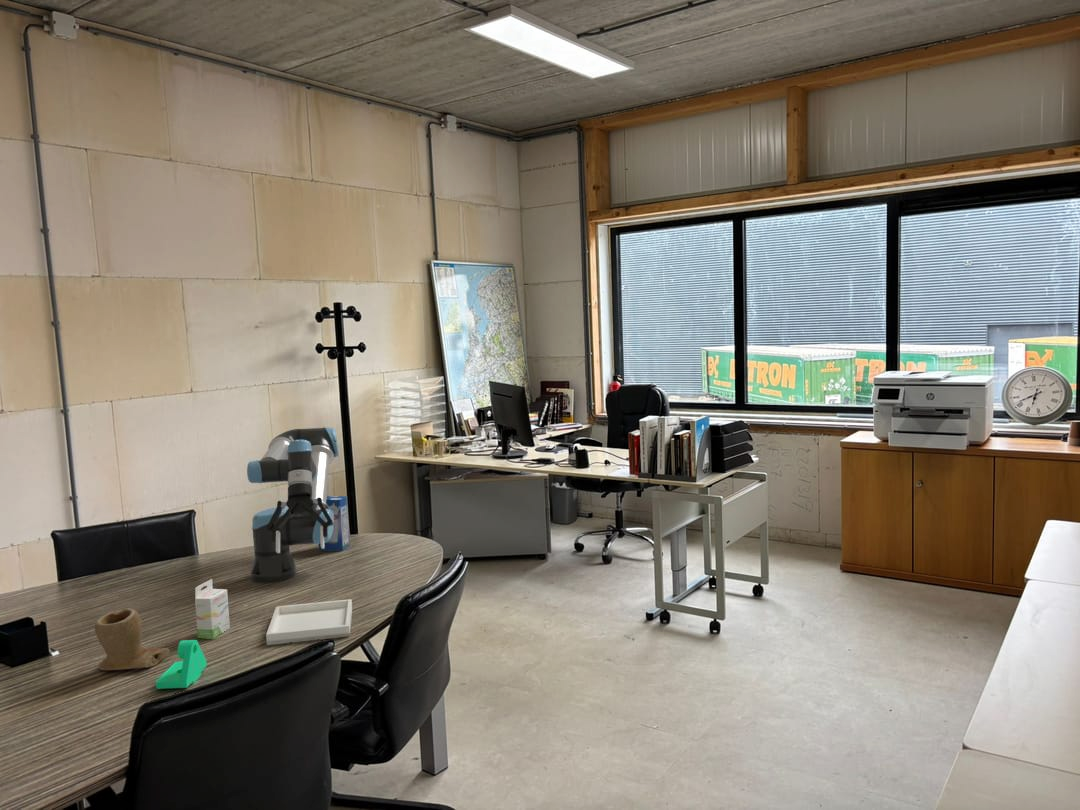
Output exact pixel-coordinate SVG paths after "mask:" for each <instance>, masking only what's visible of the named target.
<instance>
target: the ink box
mask: <svg viewBox="0 0 1080 810" xmlns="http://www.w3.org/2000/svg"><path fill="white" fill-rule="evenodd" d="M204 587H205V588H204ZM194 590H195V591H194V593H195V594H194V597H195V598H194V603H195V604H194V605H195V616H196V617H195V618H196V629H197V632H196V633H197V639H199V638H202V639H201V640H214V639H215V638H217V637H218V635H219V634H220V635H222V634H223V633H225V632H226V631H228V630H230V627H231V626H230V612H229V599H228V598H229V597H228V589H223V588H214V587H213V579H212V578H210V579H209V580H207V581H205V582H203V583H201V584H200V585H197V586H195V588H194ZM227 629H228V630H227ZM224 631H225V632H224ZM221 633H222V634H221ZM220 635H219V636H220ZM216 636H217V637H216ZM204 638H205V639H204ZM213 638H214V639H213Z"/></svg>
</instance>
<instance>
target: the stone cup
mask: <svg viewBox="0 0 1080 810" xmlns="http://www.w3.org/2000/svg"><path fill="white" fill-rule="evenodd" d="M142 628H143V627H142V620H141V616H140V614H139V613H138V612H137V610H135V609H133V608H124V609H121V610H113V611H110V612H108V613H106V614H104V615H102V616H100V617H99V618H98V619H97V620H96V621H95V623H94V631H95V636H96V638H97V639H98V642H99V644H100V645H101V647H102V648H103V650H104V652H105V654H106V657H105V658H104V659H103V660H102V661H100V663H99V665H98V669H99V670H102V671H121V670H124V671H125V670H134V669H135V670H136V669H143V668H151V667H153V666H157V664H159V663H161V662H162V661H163V660H164V659H165V658H166V657H167V655H168V654H169V652H170V649H169V648H167V647H164V648H163V647H161V648H144V647H143V646H142V632H143V631H142Z"/></svg>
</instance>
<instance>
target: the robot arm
mask: <svg viewBox="0 0 1080 810" xmlns="http://www.w3.org/2000/svg"><path fill="white" fill-rule="evenodd" d="M337 438H338V437H337V433H336V429H335V428H333V427H325V426H324V427H312V428H294V429H289V430H286V431H284V432H282V433H280V434H278V435H277V436H275V437H274V438H273V439H272V440H271V441H270V442H269V445H268V447H267V448H268V449H267V451H266V452H265V453H264V455H263V456H262V458H260V460H258V459H257V460H251V461H249V462H248V463H247V467H246V474H247V479H248V482H249V483H251V484H265V483H266V484H267V483H280V482H287V500H286V501H281V500H278V501H277V504H276V507H273V508H269V509H268V508H267V509H264V510H261V511H260V512H257V513H255V514H254V515H253V516H252V519H251V520H252V523H251V524H252V527H251V530H252V537H253V539H252V540H253V551H254V557H253V561H252V565H251V569H250V579H251V580H250V581H253V582H256V583H273V582H281V581H284V580H288V579H290V578H293V577H294V576H296V574H297V566H296V564H295V562H294V559H293V556H292V554H291V551H290V546H302V545H319V543H321V548H322V549H324V543H326V542H328V541H329V540H330V539H331V536H332V533H333V527H334V526H333V524H334V514H333V511H332V510H331V509H329V506H328V505H327V504H326V499H327V496H328V484H329V475H330V474H329V473H330V465H331V464H332V463H333V461H334V460H335V459H334V458H337V457H339V455H340V454H339V446H338V445H339V444H338V441H337V440H338V439H337Z"/></svg>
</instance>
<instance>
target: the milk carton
mask: <svg viewBox="0 0 1080 810" xmlns="http://www.w3.org/2000/svg"><path fill="white" fill-rule="evenodd" d="M347 499H348V496H347V495H345V496H344V495H327V499H326V504H327V505H328V506H329V509H331V510H332V511H333V514H334V524H333V526H334V527H333V533H332V536H331V539H330V540H329V541H328V542H326V543H324V549H322V548H321V543H319V544H318V550H319V551H333V552H334V551H336V552H337V551H339V552H344V550H347V548H349V547H350V531H349V529H350V527H349V515H348V514H349V513H348V500H347Z"/></svg>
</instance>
